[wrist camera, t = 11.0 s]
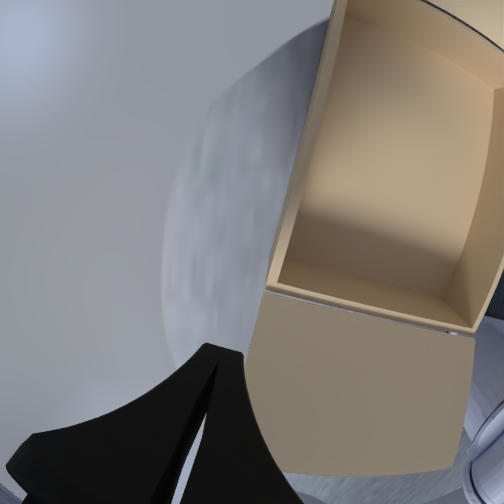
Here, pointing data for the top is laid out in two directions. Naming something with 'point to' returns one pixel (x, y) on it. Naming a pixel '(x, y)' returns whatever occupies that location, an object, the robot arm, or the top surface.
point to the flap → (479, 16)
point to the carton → (398, 171)
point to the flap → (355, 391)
